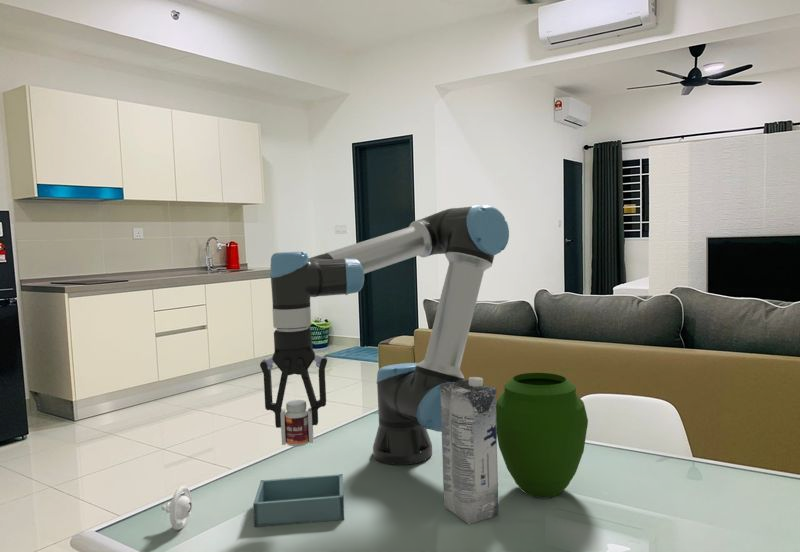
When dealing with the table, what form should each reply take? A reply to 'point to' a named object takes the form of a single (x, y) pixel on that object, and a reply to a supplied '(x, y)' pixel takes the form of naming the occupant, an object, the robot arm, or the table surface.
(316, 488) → the bin
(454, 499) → the juice carton
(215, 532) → the table surface
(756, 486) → the table surface
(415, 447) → the robot arm
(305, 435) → the pill bottle
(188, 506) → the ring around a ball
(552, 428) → the vase
